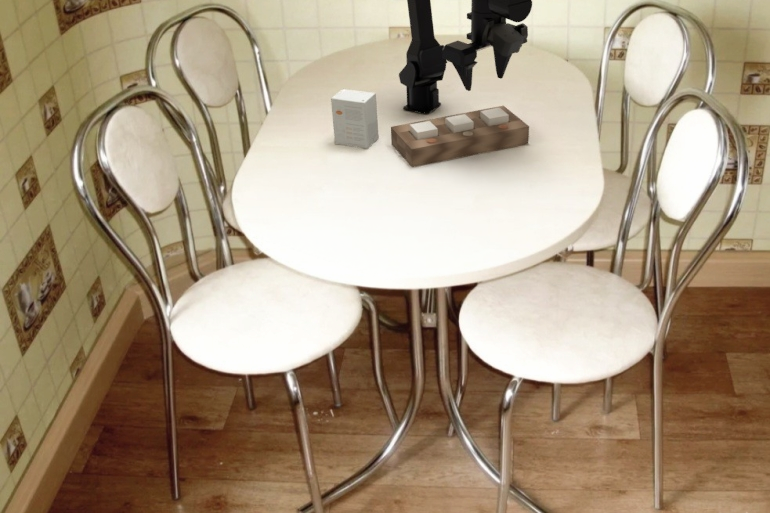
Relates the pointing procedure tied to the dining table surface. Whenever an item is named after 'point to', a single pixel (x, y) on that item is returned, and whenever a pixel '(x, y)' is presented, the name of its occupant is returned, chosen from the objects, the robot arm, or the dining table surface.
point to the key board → (459, 139)
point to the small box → (355, 118)
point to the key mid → (459, 123)
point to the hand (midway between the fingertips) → (484, 84)
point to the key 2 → (494, 116)
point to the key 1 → (423, 130)
